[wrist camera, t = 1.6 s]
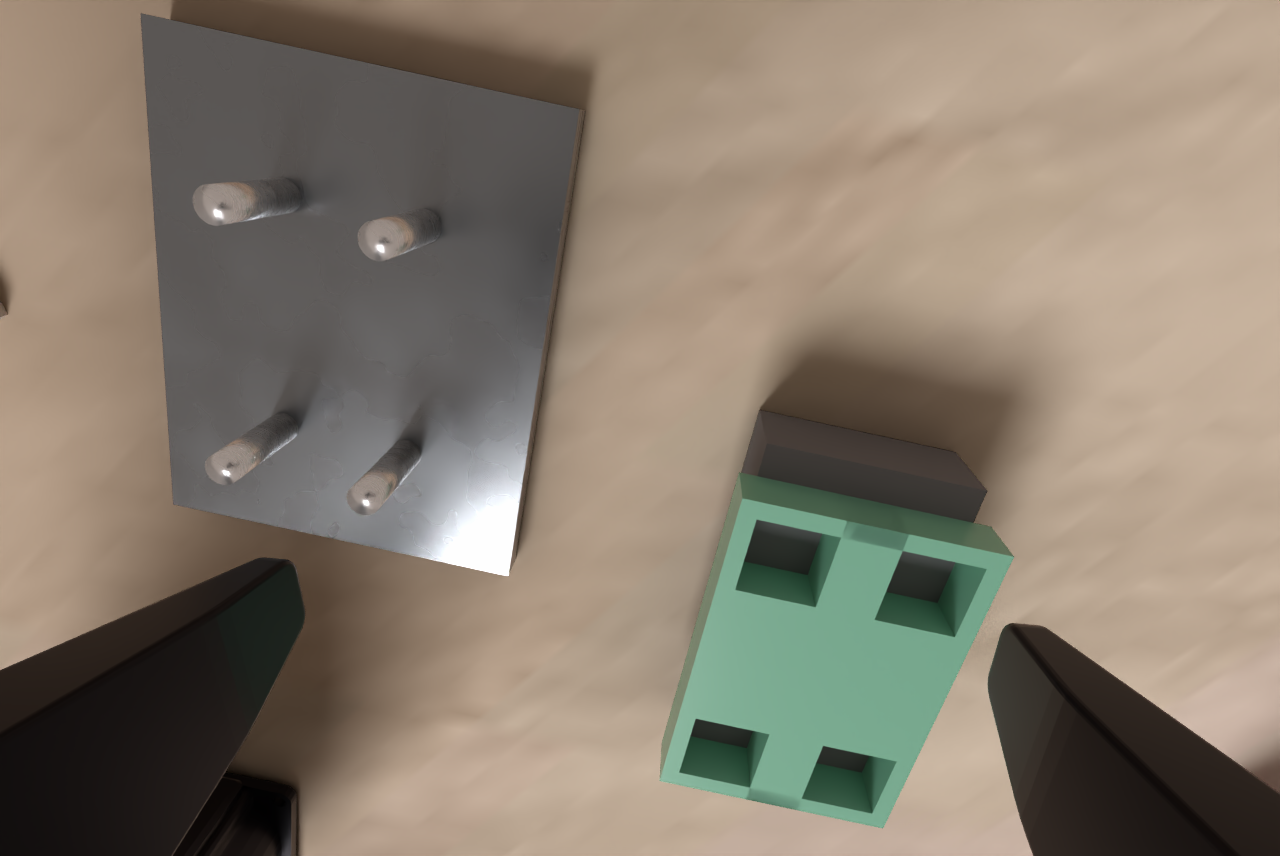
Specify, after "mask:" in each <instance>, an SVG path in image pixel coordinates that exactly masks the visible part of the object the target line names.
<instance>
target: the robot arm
mask: <svg viewBox="0 0 1280 856" xmlns="http://www.w3.org/2000/svg"><path fill="white" fill-rule="evenodd" d="M304 620H305V606H304V602H303V597H302V592H301V588H300V583H299V578H298V574H297V570H296V567H295V565H294V564H293V563H292V562H291V561H289V560H286V559H275V558H258V559H255V560H253V561H250V562H248V563H246V564H243V565H241V566H239V567H236V568H234V569H232V570H230V571H227V572H225V573H223V574H220V575H218V576H216V577H213V578H211V579H209V580H207V581H204V582H202V583H200V584H197V585H195V586H193V587H190V588H188V589H186V590H184V591H181V592H179V593H177V594H174V595H172V596H170V597H168V598H165V599H163V600H161V601H158V602H156V603H154V604H151V605H149V606H147V607H145V608H142V609H140V610H138V611H135V612H133V613H131V614H128V615H126V616H124V617H122V618H119V619H117V620H115V621H112V622H110V623H108V624H105V625H103V626H101V627H99V628H96V629H94V630H92V631H89V632H87V633H85V634H82V635H80V636H78V637H76V638H73V639H71V640H69V641H66V642H64V643H62V644H59V645H57V646H55V647H53V648H50V649H48V650H46V651H43V652H41V653H39V654H36V655H34V656H32V657H30V658H27V659H25V660H23V661H20V662H18V663H16V664H13V665H11V666H9V667H7V668H4V669H2V670H0V856H296V814H297V795H296V792H295V791H294V789H292V788H291V787H289V786H287V785H283V784H279V783H274V782H269V781H264V780H260V779H255V778H250V777H246V776H241V775H236V774H231V773H227V772H226V770H227V768H228V767H229V765H230V764H231V762H232V761H233V759H234V757H235V756H236V754H237V753H238V751H239V749H240V748H241V746H242V744H243V743H244V741H245V739H246V738H247V736H248V734H249V733H250V731H251V729H252V727H253V725H254V723H255V721H256V720H257V718H258V716H259V714H260V712H261V710H262V708H263V706H264V704H265V702H266V700H267V698H268V696H269V694H270V692H271V690H272V688H273V686H274V684H275V682H276V680H277V678H278V676H279V674H280V672H281V670H282V668H283V666H284V664H285V662H286V660H287V658H288V656H289V654H290V652H291V650H292V648H293V646H294V644H295V642H296V640H297V638H298V636H299V634H300V632H301V630H302V628H303V624H304ZM988 693H989V698H990V702H991V706H992V710H993V714H994V718H995V722H996V726H997V730H998V734H999V738H1000V742H1001V746H1002V750H1003V754H1004V758H1005V762H1006V766H1007V770H1008V774H1009V778H1010V782H1011V786H1012V790H1013V794H1014V798H1015V801H1016V805H1017V808H1018V812H1019V816H1020V819H1021V822H1022V825H1023V828H1024V831H1025V834H1026V837H1027V840H1028V842H1029V845H1030V848H1031V851H1032V853H1033V856H1280V793H1279V792H1277V791H1276V790H1274V789H1273V788H1272V787H1270V786H1269V785H1267V784H1266V783H1265V782H1263V781H1262V780H1260V779H1259V778H1258V777H1256V776H1255V775H1253V774H1252V773H1250V772H1249V771H1248V770H1246V769H1245V768H1243V767H1242V766H1241V765H1239V764H1238V763H1236V762H1235V761H1234V760H1232V759H1231V758H1229V757H1228V756H1226V755H1225V754H1224V753H1222V752H1221V751H1219V750H1218V749H1217V748H1215V747H1214V746H1212V745H1211V744H1210V743H1208V742H1207V741H1205V740H1204V739H1203V738H1201V737H1200V736H1198V735H1197V734H1195V733H1194V732H1193V731H1191V730H1190V729H1188V728H1187V727H1186V726H1184V725H1183V724H1181V723H1180V722H1179V721H1177V720H1176V719H1174V718H1173V717H1171V716H1170V715H1169V714H1167V713H1166V712H1164V711H1163V710H1162V709H1160V708H1159V707H1157V706H1156V705H1155V704H1153V703H1152V702H1150V701H1149V700H1147V699H1146V698H1145V697H1143V696H1142V695H1140V694H1139V693H1138V692H1136V691H1135V690H1133V689H1132V688H1131V687H1129V686H1128V685H1126V684H1125V683H1123V682H1122V681H1121V680H1119V679H1118V678H1116V677H1115V676H1114V675H1112V674H1111V673H1109V672H1108V671H1107V670H1105V669H1104V668H1102V667H1101V666H1100V665H1098V664H1097V663H1095V662H1094V661H1092V660H1091V659H1090V658H1088V657H1087V656H1085V655H1084V654H1083V653H1081V652H1080V651H1078V650H1077V649H1076V648H1074V647H1073V646H1071V645H1070V644H1068V643H1067V642H1066V641H1064V640H1063V639H1061V638H1060V637H1059V636H1057V635H1056V634H1054V633H1053V632H1052V631H1050V630H1049V629H1047V628H1045V627H1043V626H1039V625H1028V624H1017V623H1010V624H1008V625H1006V626H1005V627H1004V629H1003V630H1002V632H1001V635H1000V638H999V642H998V645H997V648H996V652H995V655H994V658H993V662H992V665H991V668H990V672H989V676H988Z"/></svg>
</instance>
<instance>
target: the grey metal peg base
mask: <svg viewBox="0 0 1280 856" xmlns="http://www.w3.org/2000/svg"><path fill="white" fill-rule="evenodd" d="M141 26H142V41H143V56H144V71H145V86H146V101H147V116H148V131H149V146H150V161H151V176H152V191H153V206H154V221H155V236H156V251H157V266H158V281H159V296H160V311H161V326H162V341H163V356H164V371H165V386H166V401H167V416H168V431H169V446H170V461H171V476H172V491H173V504H174V505H179V506H183V507H188V508H193V509H197V510H202V511H207V512H211V513H216V514H221V515H225V516H230V517H235V518H239V519H244V520H249V521H253V522H258V523H263V524H267V525H272V526H277V527H281V528H286V529H291V530H295V531H300V532H305V533H309V534H314V535H319V536H323V537H328V538H333V539H337V540H342V541H347V542H351V543H356V544H361V545H365V546H370V547H375V548H379V549H384V550H388V551H393V552H398V553H402V554H407V555H412V556H416V557H421V558H426V559H430V560H435V561H440V562H444V563H449V564H454V565H458V566H463V567H468V568H472V569H477V570H482V571H486V572H491V573H496V574H500V575H505V576H508V575H509V573H510V571H511V569H512V566H513V564H514V562H515V559H516V553H517V547H518V540H519V534H520V528H521V521H522V515H523V508H524V502H525V495H526V489H527V483H528V476H529V470H530V463H531V457H532V451H533V444H534V438H535V431H536V425H537V418H538V412H539V406H540V399H541V393H542V386H543V380H544V373H545V367H546V361H547V354H548V348H549V341H550V335H551V328H552V322H553V316H554V309H555V303H556V296H557V290H558V284H559V277H560V271H561V264H562V258H563V251H564V245H565V239H566V232H567V226H568V219H569V213H570V206H571V200H572V194H573V187H574V181H575V174H576V168H577V161H578V155H579V149H580V142H581V136H582V129H583V123H584V117H585V111H584V110H581V109H576V108H572V107H567V106H562V105H558V104H553V103H549V102H544V101H540V100H535V99H530V98H526V97H521V96H517V95H512V94H508V93H503V92H498V91H494V90H489V89H485V88H480V87H476V86H471V85H466V84H462V83H457V82H453V81H448V80H444V79H439V78H434V77H430V76H425V75H421V74H416V73H412V72H407V71H402V70H398V69H393V68H389V67H384V66H380V65H375V64H370V63H366V62H361V61H357V60H352V59H348V58H343V57H338V56H334V55H329V54H325V53H320V52H316V51H311V50H306V49H302V48H297V47H293V46H288V45H284V44H279V43H274V42H270V41H265V40H261V39H256V38H251V37H247V36H242V35H238V34H233V33H229V32H224V31H219V30H215V29H210V28H206V27H201V26H197V25H192V24H187V23H183V22H178V21H174V20H169V19H165V18H160V17H155V16H151V15H146V14H142V13H141Z"/></svg>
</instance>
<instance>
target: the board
mask: <svg viewBox="0 0 1280 856" xmlns="http://www.w3.org/2000/svg"><path fill="white" fill-rule="evenodd" d="M756 520H761V521H766V522H771V523H775V524H780V525H785V526H789V527H794V528H798V529H803V530H808V531H812V532H817V533H822V536H821V539H820V542H819V544H818V547H817V550H816V553H815V556H814V559H813V562H812V564H811V567H810V570H809V573H808V575H804V574H800V573H795V572H791V571H786V570H781V569H777V568H772V567H767V566H763V565H758V564H753V563H749V562H744V559H745V556H746V553H747V549H748V546H749V543H750V540H751V536H752V533H753V530H754V526H755V523H756ZM902 551H905V552H910V553H915V554H919V555H924V556H929V557H933V558H938V559H942V560H947V561H952V562H955V565H954V567H953V569H952V571H951V574H950V576H949V578H948V580H947V583H946V585H945V587H944V589H943V592H942V594H941V596H940V598H939V601H938V603H935V602H930V601H925V600H921V599H916V598H911V597H907V596H902V595H898V594H893V593H888V592H886V590H887V588H888V586H889V583H890V581H891V578H892V576H893V573H894V571H895V568H896V566H897V564H898V561H899V559H900V556H901V554H902ZM1013 558H1014V556H1013V555H1012V554H1011V552H1010V551H1009V550H1008V548H1007V547H1006V546H1005V544H1004V543H1003V542H1002V540H1001V539H1000V538H999V536H998V535H997V534H996V532H995V531H994V530H993V528H992V527H990V526H986V525H981V524H976V523H972V522H967V521H962V520H958V519H953V518H949V517H944V516H939V515H935V514H930V513H925V512H921V511H916V510H911V509H907V508H902V507H898V506H893V505H888V504H884V503H879V502H874V501H870V500H865V499H860V498H856V497H851V496H847V495H842V494H837V493H833V492H828V491H823V490H819V489H814V488H809V487H805V486H800V485H796V484H791V483H786V482H782V481H777V480H772V479H768V478H763V477H758V476H754V475H749V474H745V473H740V472H739V475H738V478H737V482H736V485H735V489H734V492H733V496H732V499H731V502H730V506H729V509H728V513H727V516H726V520H725V523H724V527H723V530H722V534H721V537H720V541H719V544H718V548H717V551H716V555H715V558H714V562H713V565H712V569H711V572H710V576H709V579H708V583H707V586H706V590H705V593H704V597H703V600H702V604H701V607H700V611H699V614H698V618H697V621H696V625H695V628H694V632H693V635H692V639H691V642H690V646H689V649H688V653H687V656H686V660H685V663H684V667H683V670H682V674H681V677H680V681H679V684H678V688H677V691H676V695H675V698H674V702H673V705H672V709H671V712H670V716H669V719H668V723H667V726H666V730H665V733H664V737H663V740H662V749H661V765H660V781H663V782H667V783H672V784H677V785H681V786H686V787H691V788H695V789H700V790H705V791H710V792H714V793H719V794H724V795H728V796H733V797H738V798H742V799H747V800H752V801H757V802H761V803H766V804H771V805H775V806H780V807H785V808H789V809H794V810H799V811H804V812H808V813H813V814H818V815H822V816H827V817H832V818H836V819H841V820H846V821H851V822H855V823H860V824H865V825H869V826H874V827H879V828H883V827H884V825H885V823H886V821H887V819H888V817H889V815H890V813H891V811H892V809H893V807H894V805H895V802H896V800H897V798H898V796H899V794H900V792H901V790H902V788H903V786H904V784H905V782H906V780H907V778H908V776H909V773H910V771H911V769H912V767H913V765H914V763H915V761H916V759H917V757H918V755H919V753H920V751H921V749H922V747H923V744H924V742H925V740H926V738H927V736H928V734H929V732H930V730H931V728H932V726H933V724H934V722H935V720H936V718H937V715H938V713H939V711H940V709H941V707H942V705H943V703H944V701H945V699H946V697H947V695H948V693H949V691H950V689H951V686H952V684H953V682H954V680H955V678H956V676H957V674H958V672H959V670H960V668H961V666H962V664H963V662H964V659H965V657H966V655H967V653H968V651H969V649H970V647H971V645H972V643H973V641H974V639H975V637H976V635H977V633H978V630H979V628H980V626H981V624H982V622H983V620H984V618H985V616H986V614H987V612H988V610H989V608H990V606H991V604H992V601H993V599H994V597H995V595H996V593H997V591H998V589H999V587H1000V585H1001V583H1002V581H1003V579H1004V577H1005V575H1006V572H1007V570H1008V568H1009V566H1010V564H1011V562H1012V560H1013ZM695 719H700V720H705V721H709V722H714V723H719V724H723V725H728V726H733V727H737V728H742V729H747V730H751V731H753V732H752V735H751V738H750V741H749V744H748V747H747V748H743V747H739V746H734V745H729V744H725V743H720V742H715V741H710V740H706V739H701V738H696V737H692V736H690V735H691V732H692V729H693V726H694V722H695ZM823 746H826V747H831V748H836V749H840V750H845V751H850V752H854V753H859V754H864V755H869V758H868V760H867V762H866V764H865V767H864V769H863V771H862V773H861V772H856V771H851V770H846V769H842V768H837V767H832V766H828V765H823V764H818V763H816V762H817V760H818V757H819V755H820V752H821V750H822V747H823Z"/></svg>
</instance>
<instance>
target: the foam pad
mask: <svg viewBox="0 0 1280 856" xmlns="http://www.w3.org/2000/svg"><path fill="white" fill-rule="evenodd" d="M741 473H745V474H749V475H754V476H758V477H763V478H768V479H772V480H777V481H782V482H786V483H791V484H796V485H800V486H805V487H809V488H814V489H819V490H823V491H828V492H833V493H837V494H842V495H847V496H851V497H856V498H860V499H865V500H870V501H874V502H879V503H884V504H888V505H893V506H898V507H902V508H907V509H911V510H916V511H921V512H925V513H930V514H935V515H939V516H944V517H949V518H953V519H958V520H962V521H967V522H972V523H973V522H974V520H975V518H976V515H977V513H978V511H979V509H980V506H981V504H982V502H983V500H984V497H985V495H986V493H987V490H986V488H985V487H984V486H983V485H982V484H981V482H980V481H979V480H978V479H977V478H976V476H975V475H974V474H973V473H972V472H971V470H970V469H969V468H968V467H967V465H966V464H965V463H964V462H963V461H962V459H961V458H960V457H959V456H958V455H957V453H956V452H952V451H947V450H943V449H938V448H933V447H929V446H924V445H919V444H915V443H910V442H906V441H901V440H896V439H892V438H887V437H882V436H878V435H873V434H869V433H864V432H859V431H855V430H850V429H845V428H841V427H836V426H832V425H827V424H822V423H818V422H813V421H808V420H804V419H799V418H795V417H790V416H785V415H781V414H776V413H771V412H767V411H762V410H759V413H758V417H757V420H756V423H755V427H754V430H753V434H752V437H751V441H750V444H749V448H748V451H747V455H746V458H745V462H744V465H743V469H742V472H741ZM821 536H822V533H817V532H812V531H808V530H803V529H798V528H794V527H789V526H785V525H780V524H775V523H771V522H766V521H761V520H756V523H755V526H754V530H753V533H752V536H751V540H750V543H749V546H748V549H747V553H746V556H745V559H744V562H749V563H753V564H758V565H763V566H767V567H772V568H777V569H781V570H786V571H791V572H795V573H800V574H804V575H808V573H809V570H810V567H811V564H812V562H813V559H814V556H815V553H816V550H817V547H818V544H819V542H820V539H821ZM954 565H955V562H952V561H947V560H942V559H938V558H933V557H929V556H924V555H919V554H915V553H910V552H905V551H902V554H901V556H900V559H899V561H898V564H897V566H896V568H895V571H894V573H893V576H892V578H891V581H890V583H889V586H888V588H887V590H886V592H888V593H893V594H898V595H902V596H907V597H911V598H916V599H921V600H925V601H930V602H935V603H938V601H939V598H940V596H941V594H942V592H943V589H944V587H945V585H946V583H947V580H948V578H949V576H950V574H951V571H952V569H953V567H954ZM752 732H753V731H751V730H747V729H742V728H737V727H733V726H728V725H723V724H719V723H714V722H709V721H705V720H700V719H695V722H694V726H693V729H692V732H691V735H690V736H692V737H696V738H701V739H706V740H710V741H715V742H720V743H725V744H729V745H734V746H739V747H743V748H747V747H748V744H749V741H750V738H751V735H752ZM868 758H869V755H864V754H859V753H854V752H850V751H845V750H840V749H836V748H831V747H826V746H823V747H822V750H821V752H820V755H819V757H818V760H817V762H816V763H818V764H823V765H828V766H832V767H837V768H842V769H846V770H851V771H856V772H861V773H862V771H863V769H864V767H865V764H866V762H867V760H868Z"/></svg>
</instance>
